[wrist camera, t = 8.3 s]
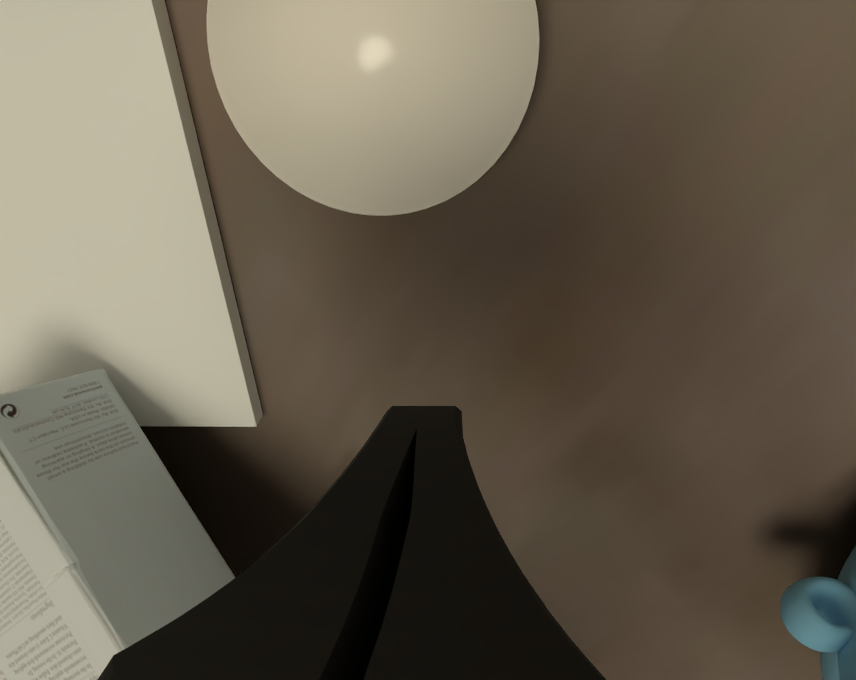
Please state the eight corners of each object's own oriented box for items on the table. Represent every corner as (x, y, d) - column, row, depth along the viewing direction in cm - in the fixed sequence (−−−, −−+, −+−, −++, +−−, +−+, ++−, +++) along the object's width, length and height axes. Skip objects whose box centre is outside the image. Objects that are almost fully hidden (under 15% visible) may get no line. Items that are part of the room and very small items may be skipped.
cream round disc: (595, 93, 19) (601, 100, 18) (352, 252, 22) (342, 268, 21) (416, -233, 16) (407, -253, 15) (164, 4, 19) (139, 5, 18)
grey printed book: (-83, 570, 34) (65, 851, 32) (-220, 628, 29) (-55, 962, 28) (121, 359, 25) (347, 743, 23) (-33, 395, 20) (239, 883, 18)
